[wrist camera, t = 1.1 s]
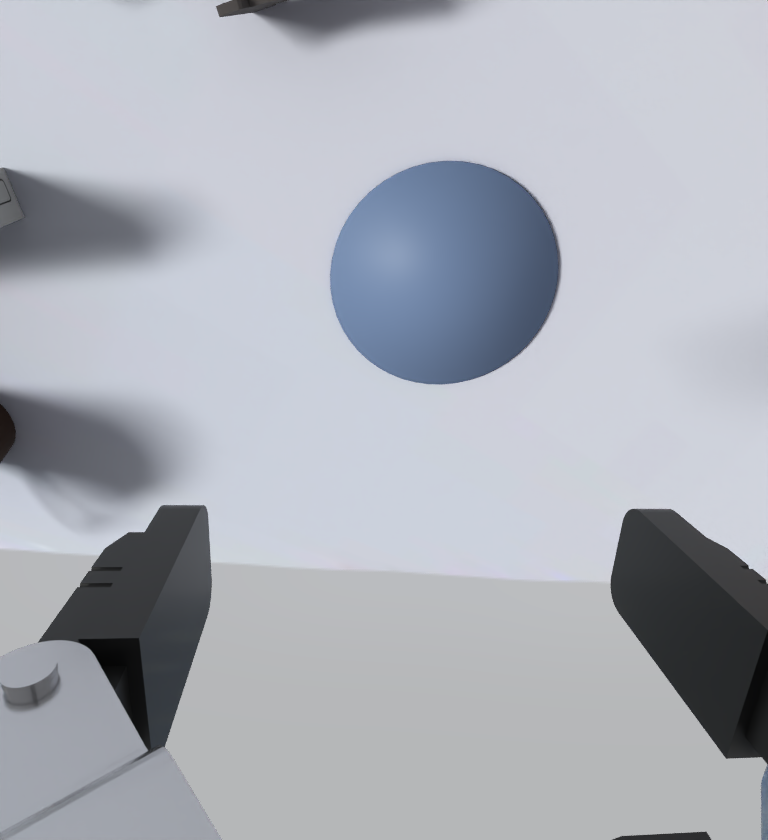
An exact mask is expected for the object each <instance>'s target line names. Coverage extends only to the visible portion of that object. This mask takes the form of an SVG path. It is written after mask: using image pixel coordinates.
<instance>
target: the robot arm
mask: <svg viewBox="0 0 768 840" xmlns="http://www.w3.org/2000/svg"><path fill="white" fill-rule="evenodd" d="M211 587H212V578H211V560H210V542H209V524H208V513H207V509H206V507H205V506H204V505H162V506H161V507H160V508H159V510H158V512H157V513H156V515H155V516H154V518H153V520H152V521H151V523H150V524H149V526H148V528H147V529H146V531H145V532H129V533H127V534H126V535H124V536H123V537H121V538H120V539H118V540H117V541H115V542H114V543H112V544H111V545H109V546H108V547H106V548H105V549H104V551H103V552H102V553H101V555H100V556H99V558H98V559H97V560H96V562H95V563H94V565H93V566H92V570H91V571H89V572H88V573H87V574H86V576H85V577H84V579H83V580H82V582H81V583H80V587H77V589H76V590H75V591H74V593H73V594H72V596H71V597H70V598H69V600H68V601H67V603H66V604H65V605H64V607H63V608H62V610H61V611H60V612H59V614H58V615H57V617H56V618H55V619H54V621H53V622H52V624H51V625H50V626H49V628H48V629H47V631H46V632H45V633H44V635H43V636H42V638H41V639H40V640H39V642H38V643H35V644H31V645H27V646H24V647H21V648H18V649H16V650H14V651H11V652H9V653H7V654H5V655H3V656H1V657H0V840H222V839H221V837H220V835H219V834H218V832H217V830H216V829H215V828H214V825H213V824H212V822H211V821H210V819H209V817H208V815H207V814H206V812H205V810H204V809H203V807H202V805H201V804H200V802H199V800H198V799H197V797H196V795H195V794H194V792H193V790H192V789H191V787H190V785H189V784H188V782H187V780H186V779H185V777H184V775H183V773H182V772H181V770H180V769H179V767H178V765H177V763H176V762H175V760H174V759H173V757H172V756H171V754H170V753H169V752H168V750H167V749H166V748H165V744H166V741H167V738H168V735H169V732H170V729H171V726H172V722H173V720H174V716H175V713H176V710H177V707H178V704H179V701H180V698H181V695H182V692H183V689H184V686H185V683H186V680H187V677H188V674H189V671H190V668H191V665H192V662H193V658H194V655H195V652H196V649H197V646H198V643H199V640H200V637H201V634H202V631H203V628H204V625H205V622H206V619H207V615H208V612H209V607H210V600H211ZM611 594H612V599H613V602H614V605H615V607H616V609H617V611H618V612H619V614H620V615H621V616H622V618H623V619H624V621H625V622H626V623H627V625H628V626H629V627H630V629H631V630H632V631H633V633H634V634H635V635H636V637H637V638H638V640H639V641H640V642H641V644H642V645H643V646H644V648H645V649H646V650H647V652H648V653H649V654H650V656H651V657H652V659H653V660H654V661H655V662H656V664H657V665H658V667H659V668H660V669H661V671H662V672H663V673H664V675H665V676H666V677H667V679H668V680H669V681H670V683H671V684H672V686H673V687H674V688H675V690H676V691H677V692H678V694H679V695H680V696H681V698H682V699H683V701H684V702H685V703H686V705H687V706H688V707H689V708H690V710H691V711H692V713H693V714H694V715H695V717H696V718H697V719H698V721H699V722H700V724H701V725H702V726H703V728H704V729H705V730H706V732H707V733H708V734H709V736H710V737H711V738H712V740H713V741H714V742H715V744H716V745H717V747H718V748H719V749H720V751H721V752H722V753H723V755H724V756H725V757H726V758H751V757H762V758H763V759H764V760H765V761H766V763H767V767H766V770H765V772H764V776H763V778H762V783H761V823H762V824H761V827H762V828H761V833H762V835H761V836H762V840H768V584H767V583H766V580H765V579H764V578H763V577H762V576H761V575H759V574H758V573H757V572H756V571H754V570H753V569H749V567H748V565H747V564H746V563H745V562H743V561H742V560H741V559H740V558H739V557H737V556H736V555H735V554H734V553H732V552H731V551H730V550H729V549H727V548H725V547H724V546H722V545H720V544H718V543H716V542H714V541H712V540H710V539H708V538H706V537H705V536H704V535H703V534H701V533H700V532H699V531H698V530H697V529H695V528H694V527H693V526H692V525H691V524H689V523H688V522H687V521H686V520H685V519H684V518H682V517H681V516H680V515H679V514H678V513H676V512H675V511H673V510H671V509H631V510H629V511H628V512H627V513H626V515H625V517H624V519H623V523H622V528H621V533H620V537H619V542H618V547H617V552H616V557H615V561H614V566H613V571H612V576H611ZM613 840H711V839H710V837H709V835H708V834H707V832H693V833H674V834H657V835H636V836H622V837H619V838H616V839H613Z"/></svg>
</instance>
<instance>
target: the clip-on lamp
mask: <svg viewBox="0 0 768 840" xmlns="http://www.w3.org/2000/svg"><path fill="white" fill-rule="evenodd" d="M284 1H287V0H231V1H229V2H226V3H223V4H221V5H218V6H216V8H217V11H218V14H219V16H220V17H224V16H232V15H239V14H246V13H253V12H256V11H259V10H262V9H265V8H268V7H271V6H274V5H276V3H280V2H284Z"/></svg>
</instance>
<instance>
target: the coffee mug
mask: <svg viewBox="0 0 768 840" xmlns="http://www.w3.org/2000/svg"><path fill="white" fill-rule="evenodd" d="M15 438H16V430H15V426H14V423H13V421H12V419H11V416H10V415H9V414H8V412H7V411H6V409H5V408H4V407H3V406H2V405H1V404H0V462H1V461H2V460H3V458H4V457H5V455H6V454H7V453H8V451H9V450H10V448H11V447H12V445H13V444H14V441H15Z"/></svg>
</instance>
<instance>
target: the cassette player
mask: <svg viewBox="0 0 768 840" xmlns="http://www.w3.org/2000/svg"><path fill="white" fill-rule="evenodd" d="M23 218H25V217H24V215H23V212H22V210H21V208H20V205H19V203H18V200H17V198H16V196H15V193H14V191H13V188H12V186H11V184H10V181H9V179H8V177H7V174H6V172H5V169H4V168H0V228H1V227H4V226H6V225H8V224H11V223H13V222H15V221H18V220H20V219H23Z"/></svg>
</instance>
